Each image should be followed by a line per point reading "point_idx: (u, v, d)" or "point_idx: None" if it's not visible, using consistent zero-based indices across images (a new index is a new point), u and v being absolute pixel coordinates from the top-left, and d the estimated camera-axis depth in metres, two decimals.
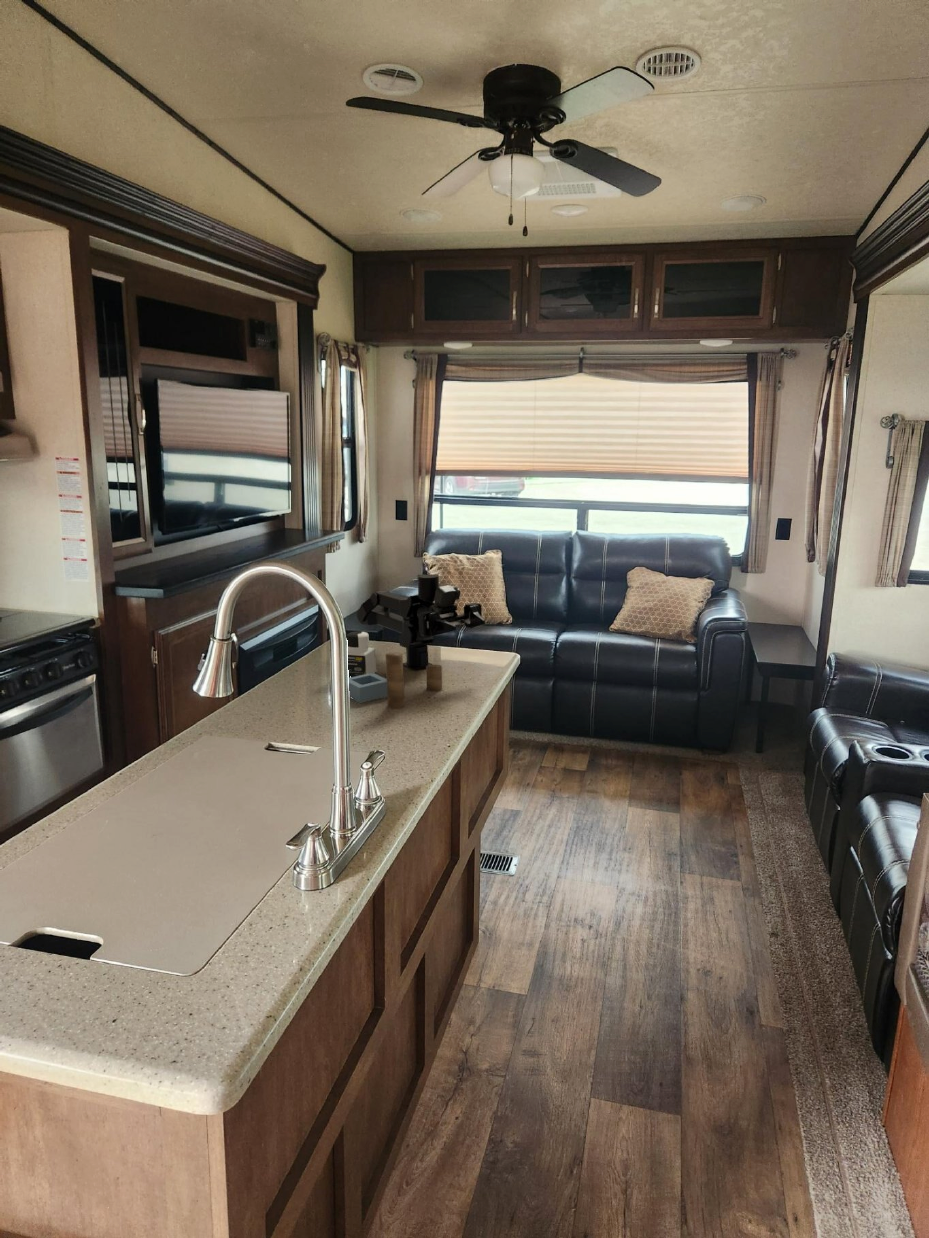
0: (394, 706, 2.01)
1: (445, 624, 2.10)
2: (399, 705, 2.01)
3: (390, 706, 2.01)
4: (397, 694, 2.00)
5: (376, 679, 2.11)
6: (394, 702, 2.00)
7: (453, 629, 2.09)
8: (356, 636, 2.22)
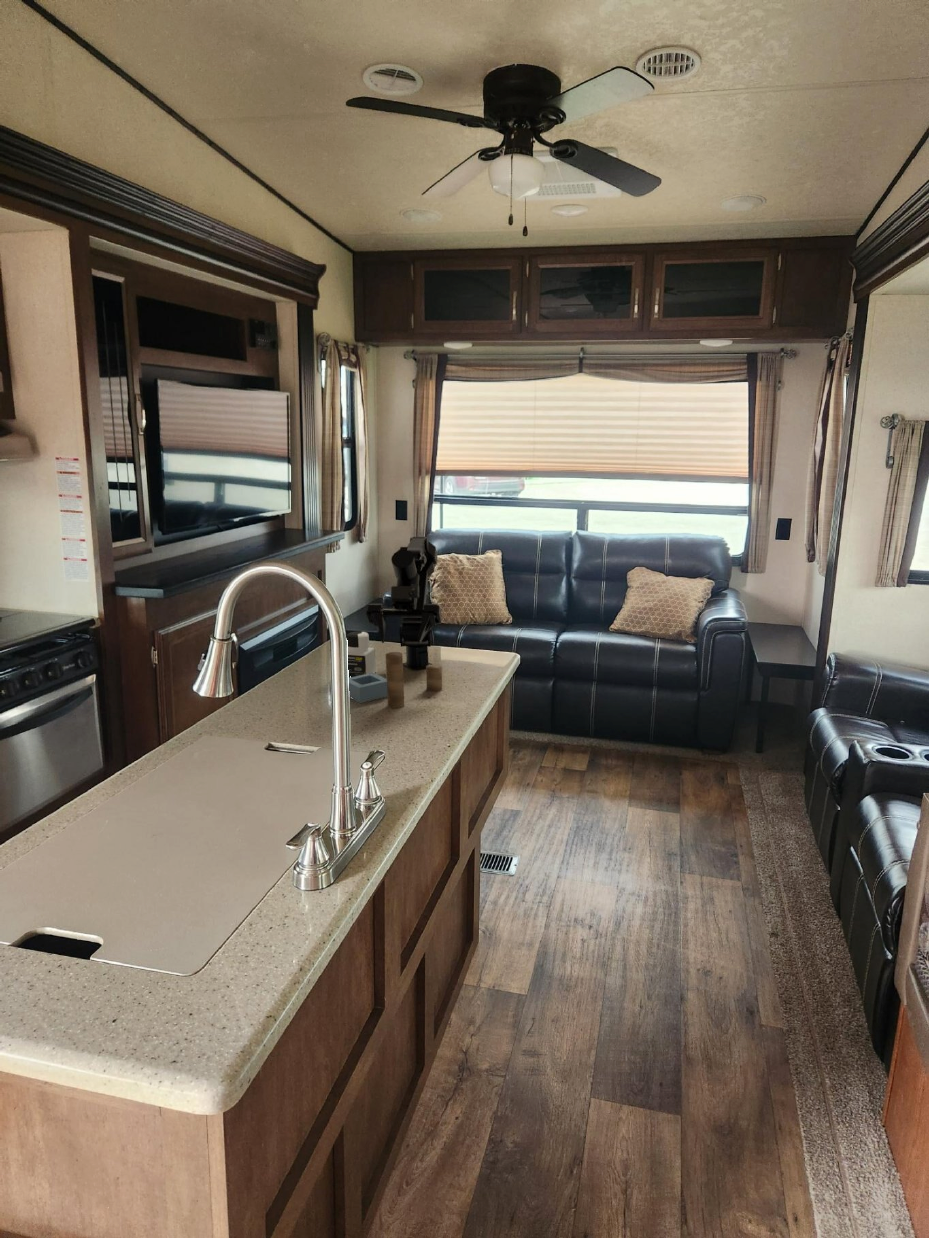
0: (394, 706, 2.01)
1: None
2: (399, 705, 2.01)
3: (390, 706, 2.01)
4: (397, 694, 2.00)
5: (376, 679, 2.11)
6: (394, 702, 2.00)
7: None
8: (356, 636, 2.22)
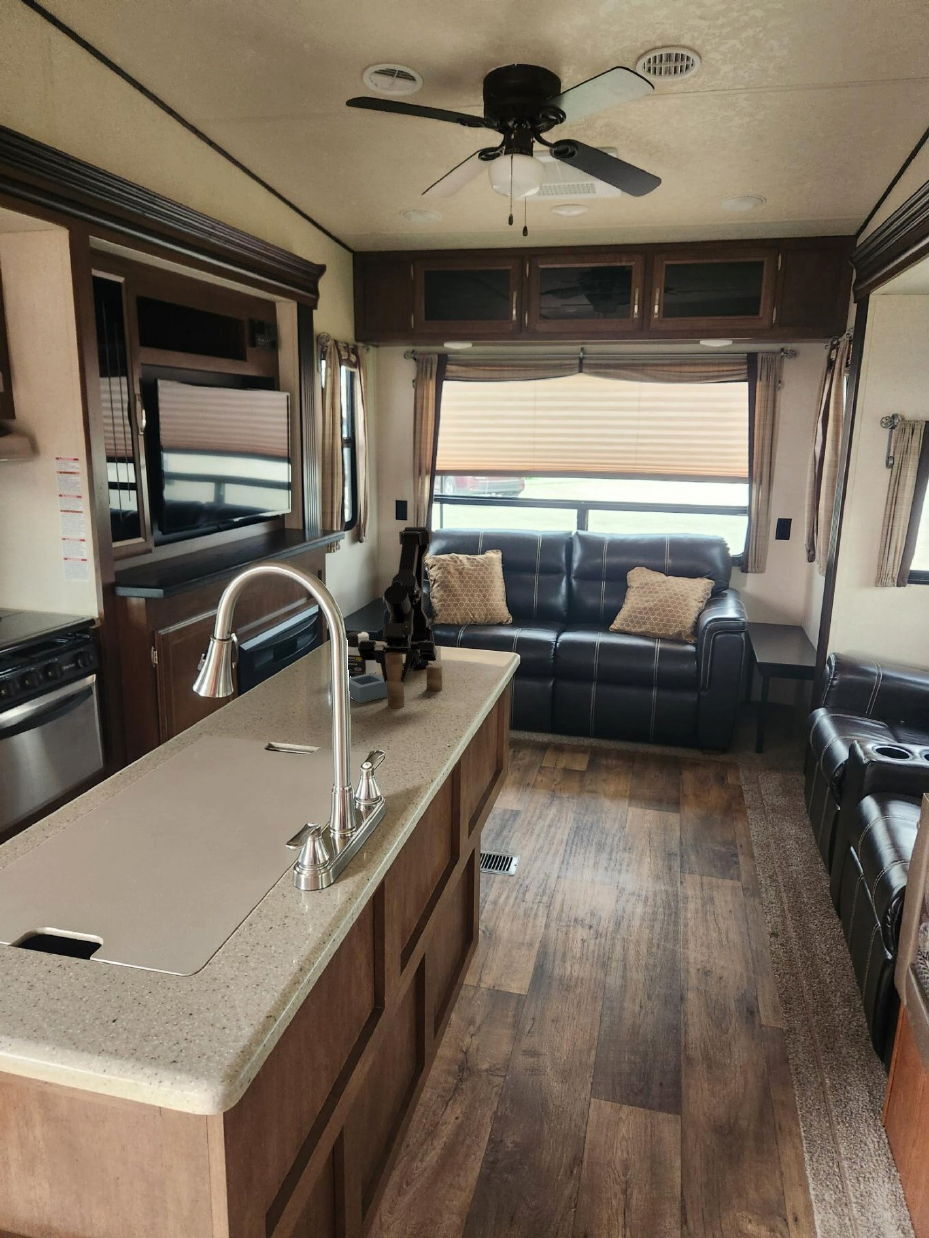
0: (394, 706, 2.01)
1: None
2: (399, 705, 2.01)
3: (390, 706, 2.01)
4: (397, 694, 2.00)
5: (376, 679, 2.11)
6: (394, 702, 2.00)
7: (384, 680, 2.00)
8: (356, 636, 2.22)
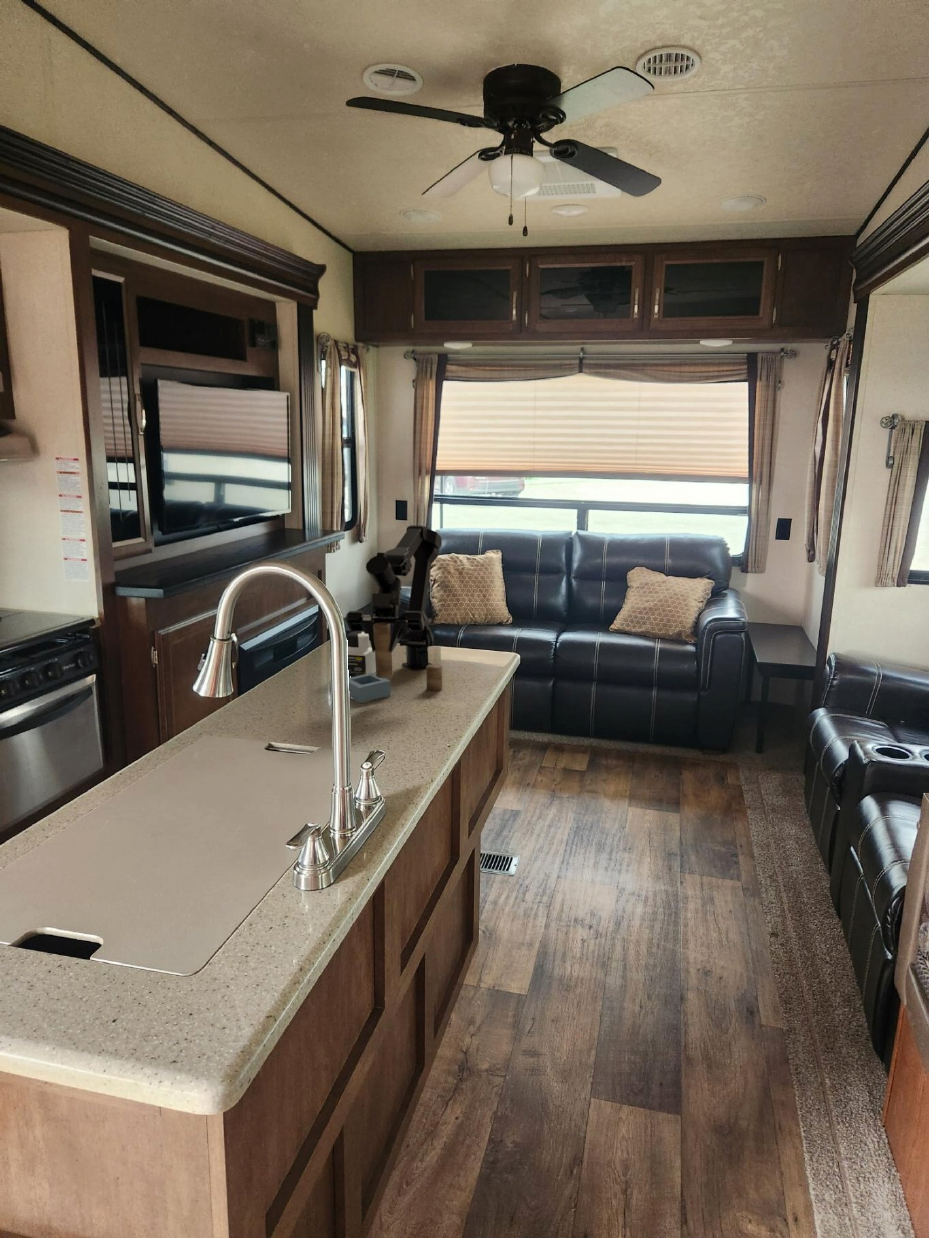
0: (382, 676, 2.02)
1: None
2: (387, 675, 2.03)
3: (378, 676, 2.03)
4: (385, 663, 2.02)
5: (376, 679, 2.11)
6: (383, 672, 2.02)
7: (372, 650, 2.02)
8: (356, 636, 2.22)
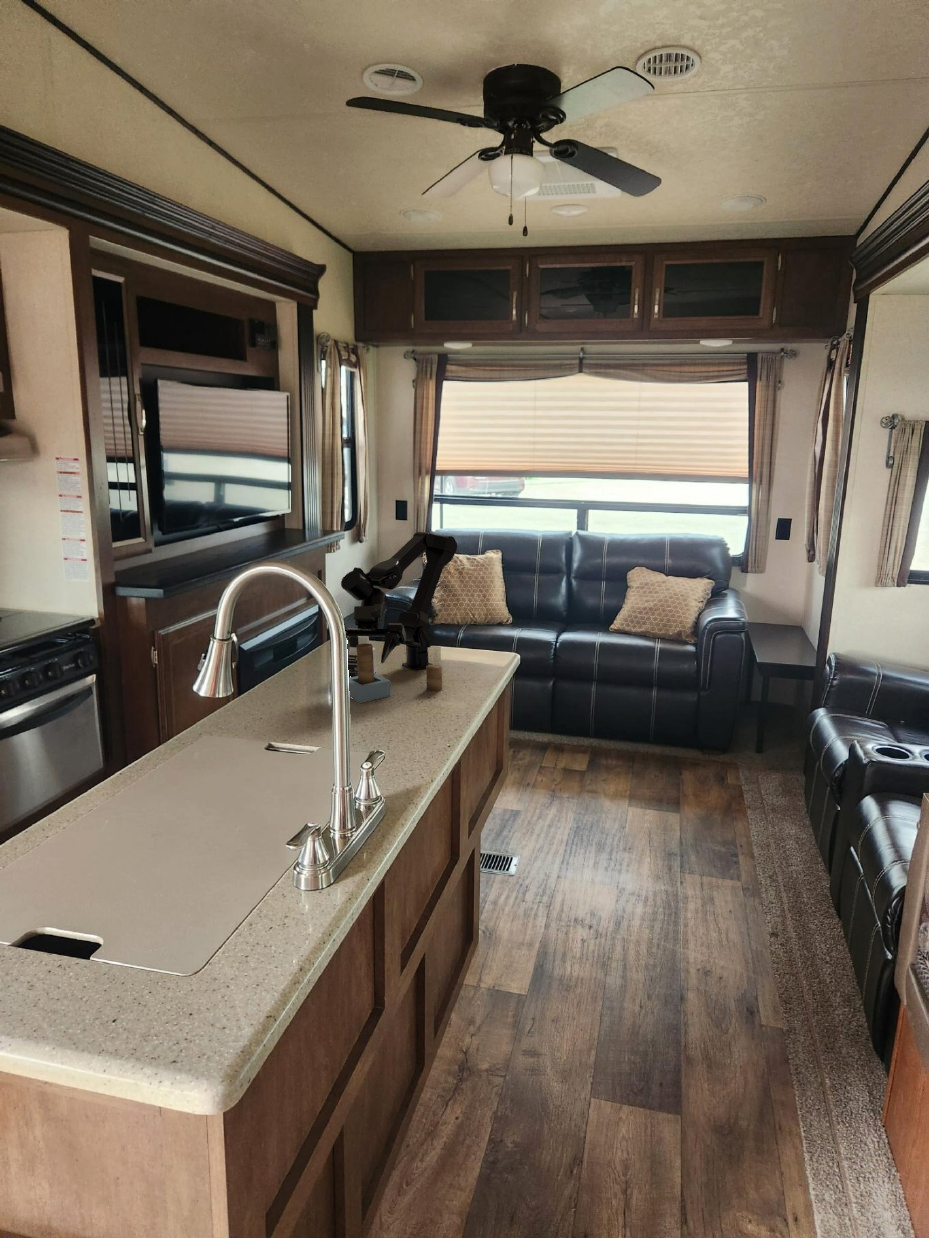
0: None
1: None
2: None
3: None
4: None
5: (376, 679, 2.11)
6: None
7: None
8: (356, 636, 2.22)
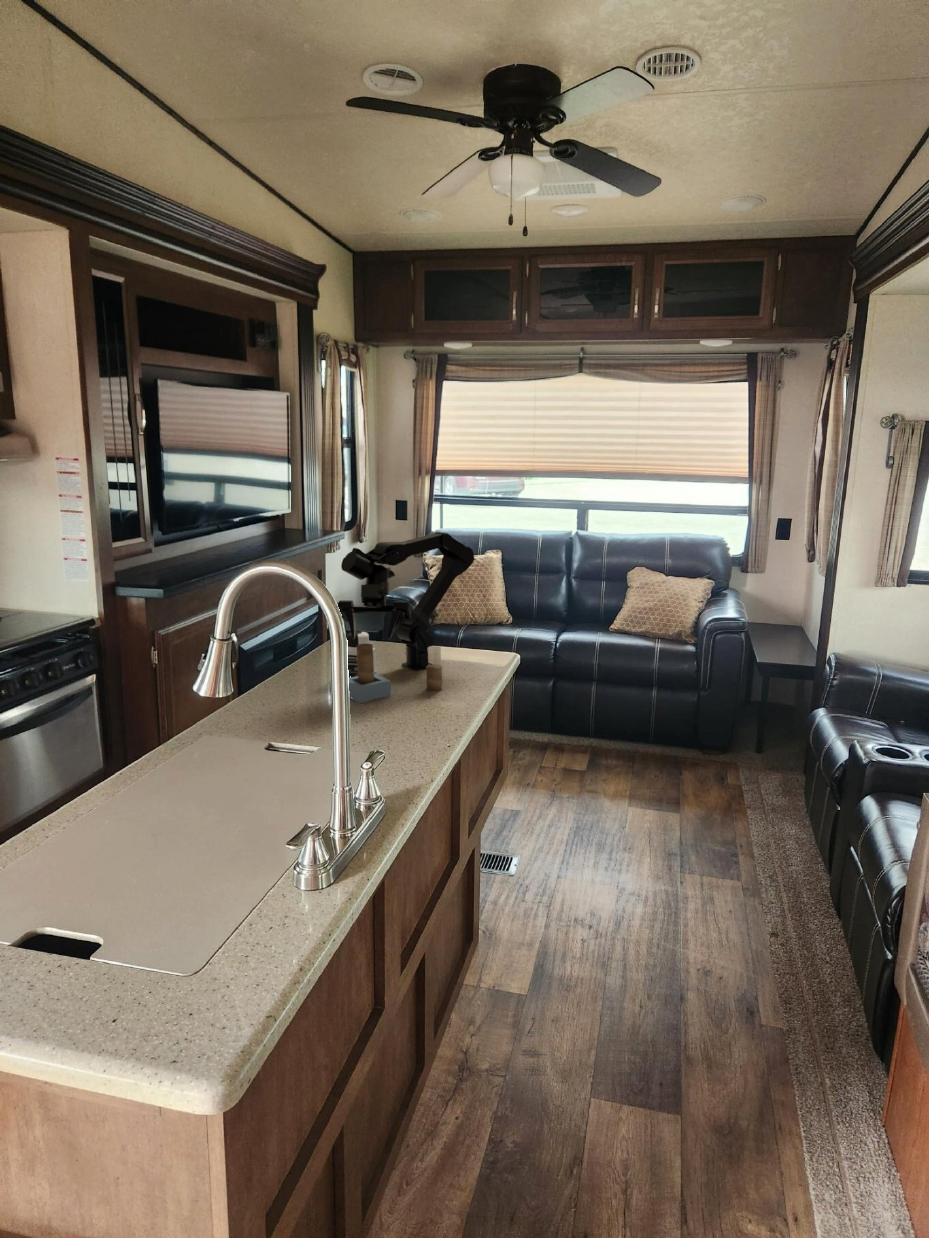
0: None
1: (350, 628, 2.13)
2: None
3: None
4: None
5: (376, 679, 2.11)
6: None
7: None
8: (356, 636, 2.22)
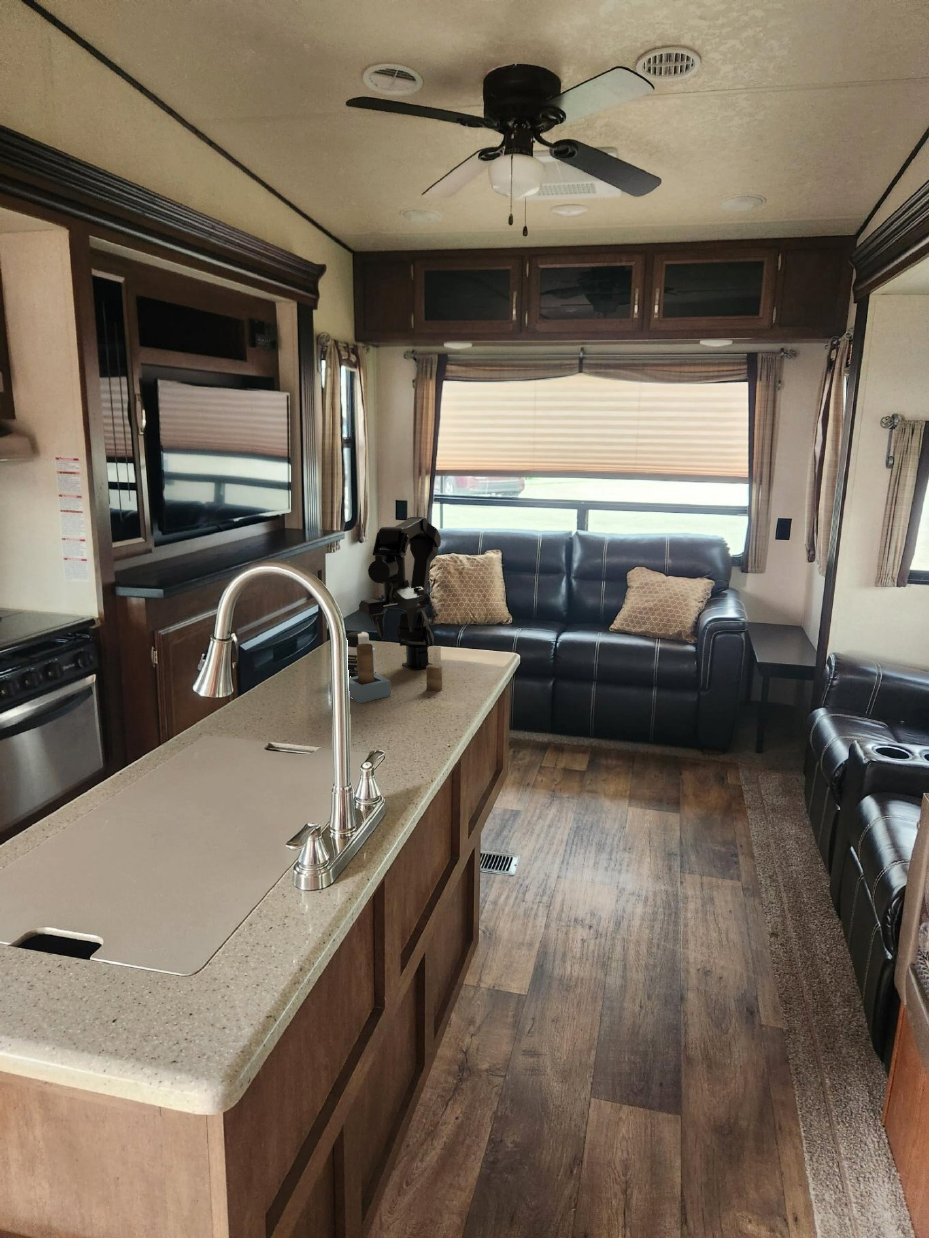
0: None
1: (378, 627, 2.13)
2: None
3: None
4: None
5: (376, 679, 2.11)
6: None
7: (379, 635, 2.15)
8: (356, 636, 2.22)
